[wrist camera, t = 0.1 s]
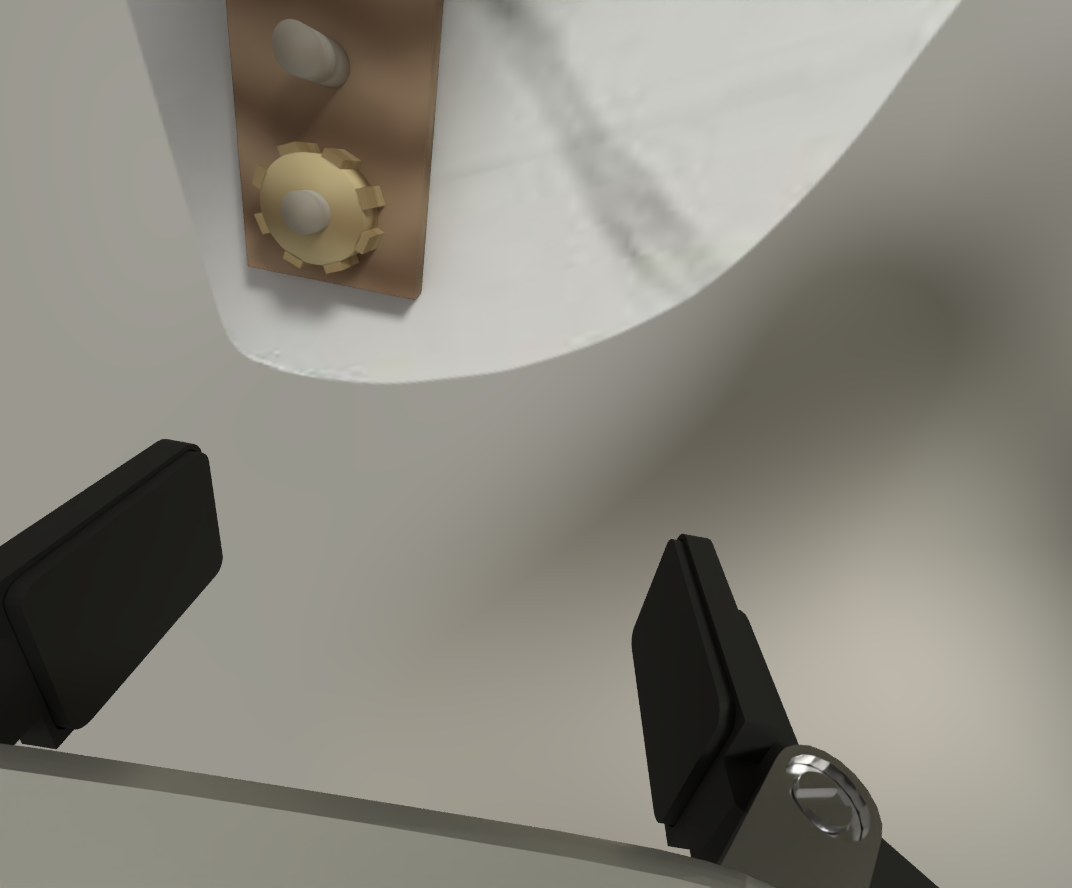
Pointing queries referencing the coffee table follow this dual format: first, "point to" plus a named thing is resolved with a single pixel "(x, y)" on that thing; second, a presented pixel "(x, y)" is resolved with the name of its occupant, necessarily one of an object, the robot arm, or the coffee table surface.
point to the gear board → (336, 136)
